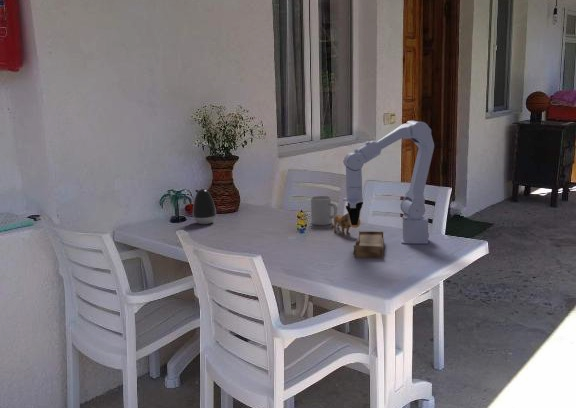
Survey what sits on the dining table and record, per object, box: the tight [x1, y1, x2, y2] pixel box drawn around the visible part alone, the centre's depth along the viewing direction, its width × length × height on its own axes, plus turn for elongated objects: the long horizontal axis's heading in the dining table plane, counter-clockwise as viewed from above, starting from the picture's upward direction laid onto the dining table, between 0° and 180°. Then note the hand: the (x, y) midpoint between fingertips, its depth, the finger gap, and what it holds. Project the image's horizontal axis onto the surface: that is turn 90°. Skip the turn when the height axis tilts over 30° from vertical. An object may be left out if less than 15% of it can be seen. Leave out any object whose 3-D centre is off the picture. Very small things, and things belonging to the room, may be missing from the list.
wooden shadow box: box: [353, 230, 385, 259], centre depth 211 cm, size 10×19×4 cm, turn 169°
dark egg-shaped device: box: [192, 188, 217, 225], centre depth 259 cm, size 10×10×15 cm
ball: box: [349, 218, 361, 229], centre depth 215 cm, size 4×4×4 cm
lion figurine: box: [330, 212, 352, 236], centre depth 234 cm, size 15×5×9 cm, turn 33°
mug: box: [310, 195, 338, 226], centre depth 250 cm, size 12×8×11 cm
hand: (355, 223), depth 215 cm, fingers closed on ball, 4 cm apart
